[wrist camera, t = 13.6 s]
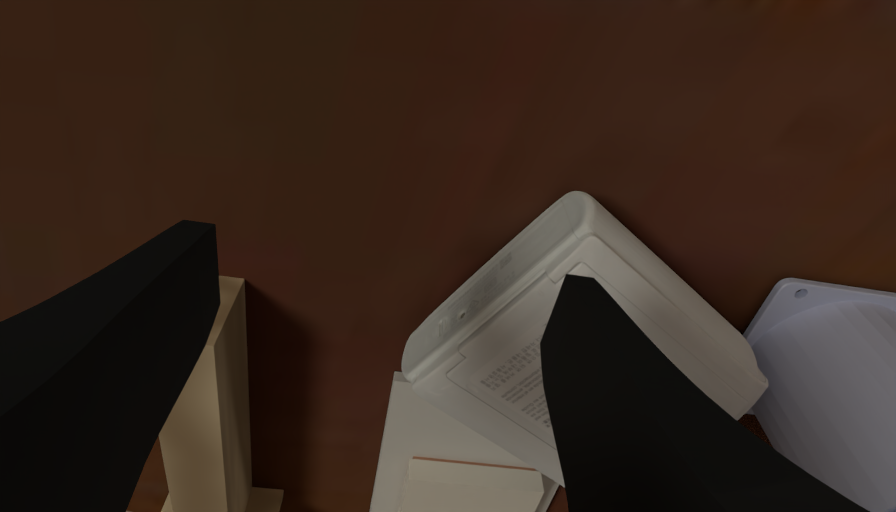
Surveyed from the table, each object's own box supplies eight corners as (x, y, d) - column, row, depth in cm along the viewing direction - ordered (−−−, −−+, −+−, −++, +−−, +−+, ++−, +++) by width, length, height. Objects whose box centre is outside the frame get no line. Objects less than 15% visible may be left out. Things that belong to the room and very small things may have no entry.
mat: (596, 394, 28) (599, 404, 27) (524, 542, 36) (525, 551, 35) (394, 371, 27) (393, 380, 26) (366, 528, 35) (365, 538, 34)
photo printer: (401, 330, 25) (587, 452, 29) (392, 402, 21) (607, 530, 26) (574, 167, 21) (762, 337, 25) (600, 222, 17) (815, 410, 22)
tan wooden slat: (287, 283, 24) (263, 351, 20) (283, 494, 33) (266, 565, 29) (138, 264, 23) (88, 331, 20) (176, 485, 32) (145, 556, 29)
